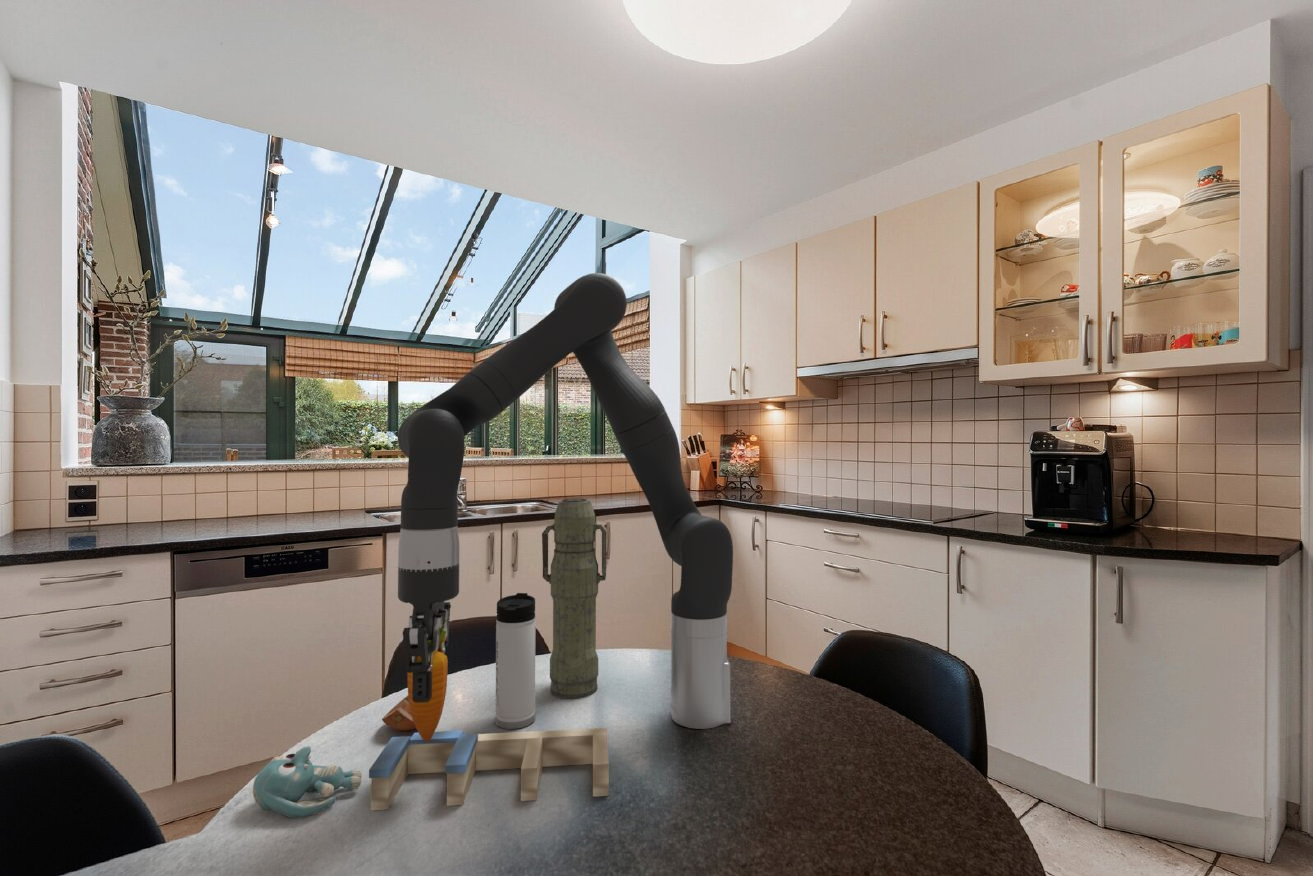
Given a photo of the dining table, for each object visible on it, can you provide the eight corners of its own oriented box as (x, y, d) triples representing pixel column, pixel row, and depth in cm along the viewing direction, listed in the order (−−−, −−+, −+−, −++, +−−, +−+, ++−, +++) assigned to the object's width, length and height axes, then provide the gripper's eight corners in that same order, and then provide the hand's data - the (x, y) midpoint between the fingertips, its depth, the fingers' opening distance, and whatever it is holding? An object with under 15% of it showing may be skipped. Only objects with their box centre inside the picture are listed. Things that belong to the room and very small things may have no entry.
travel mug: (540, 712, 100) (540, 593, 101) (528, 730, 94) (528, 602, 94) (504, 710, 101) (505, 592, 101) (489, 729, 94) (490, 601, 95)
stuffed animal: (366, 766, 73) (253, 768, 68) (353, 827, 72) (237, 833, 68) (369, 729, 83) (270, 728, 78) (358, 782, 82) (257, 785, 77)
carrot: (455, 735, 79) (456, 622, 79) (429, 753, 74) (430, 632, 75) (424, 730, 81) (425, 618, 81) (397, 747, 76) (398, 629, 76)
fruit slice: (416, 741, 90) (416, 708, 90) (371, 741, 90) (372, 708, 90) (436, 717, 98) (436, 686, 99) (396, 717, 98) (396, 686, 99)
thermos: (541, 682, 113) (542, 498, 114) (603, 678, 115) (604, 497, 116) (540, 701, 105) (541, 501, 105) (607, 696, 107) (608, 501, 108)
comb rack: (606, 755, 86) (606, 720, 86) (608, 796, 76) (608, 756, 76) (396, 767, 83) (396, 730, 83) (368, 811, 72) (369, 770, 73)
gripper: (445, 572, 71) (444, 715, 71) (469, 552, 86) (468, 671, 85) (380, 573, 71) (378, 718, 70) (415, 553, 85) (414, 673, 84)
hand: (428, 692), depth 78 cm, fingers closed on carrot, 4 cm apart
